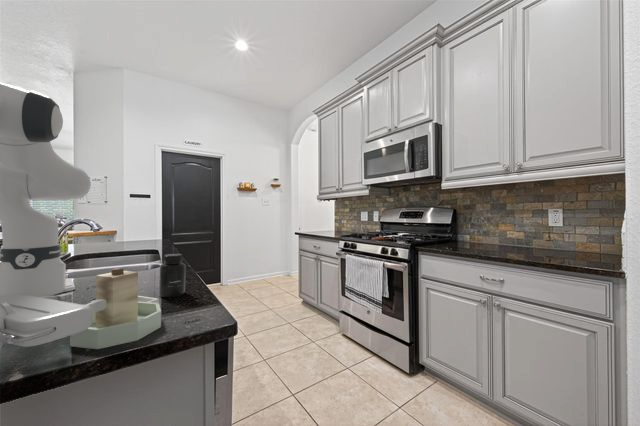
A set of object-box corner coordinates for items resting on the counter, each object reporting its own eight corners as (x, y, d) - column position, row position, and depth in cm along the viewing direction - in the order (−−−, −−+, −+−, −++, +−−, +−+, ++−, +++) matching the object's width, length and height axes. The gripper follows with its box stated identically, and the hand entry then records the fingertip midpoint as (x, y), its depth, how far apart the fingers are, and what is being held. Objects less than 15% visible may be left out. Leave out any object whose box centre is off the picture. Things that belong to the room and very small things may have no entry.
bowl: (79, 326, 57) (79, 310, 57) (157, 312, 65) (157, 298, 65) (65, 356, 45) (65, 336, 45) (162, 334, 54) (163, 317, 54)
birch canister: (95, 329, 53) (95, 270, 53) (121, 320, 58) (121, 265, 58) (112, 333, 52) (113, 272, 52) (137, 323, 56) (138, 267, 56)
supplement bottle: (173, 299, 75) (174, 257, 75) (153, 297, 77) (153, 256, 77) (190, 291, 82) (190, 253, 82) (171, 290, 83) (171, 252, 83)
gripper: (13, 319, 33) (126, 289, 46) (-67, 301, 39) (52, 279, 52) (13, 369, 33) (125, 325, 46) (-67, 343, 39) (52, 310, 52)
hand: (86, 300), depth 49 cm, fingers open, 8 cm apart
